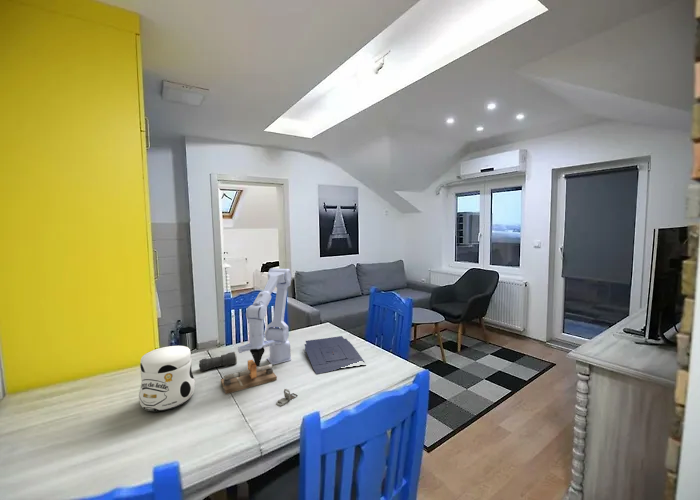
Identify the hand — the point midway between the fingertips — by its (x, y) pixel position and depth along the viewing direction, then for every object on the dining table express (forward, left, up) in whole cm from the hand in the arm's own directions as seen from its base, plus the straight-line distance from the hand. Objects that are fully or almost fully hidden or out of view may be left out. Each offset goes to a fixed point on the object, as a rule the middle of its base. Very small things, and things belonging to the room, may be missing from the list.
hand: (257, 365), depth 124 cm
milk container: (+32, -1, -6) cm, 33 cm away
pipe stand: (+3, 0, -6) cm, 7 cm away
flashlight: (+12, -21, -6) cm, 25 cm away
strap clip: (-5, +21, -6) cm, 23 cm away
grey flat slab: (-37, -3, -6) cm, 38 cm away
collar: (+2, 0, -4) cm, 4 cm away
